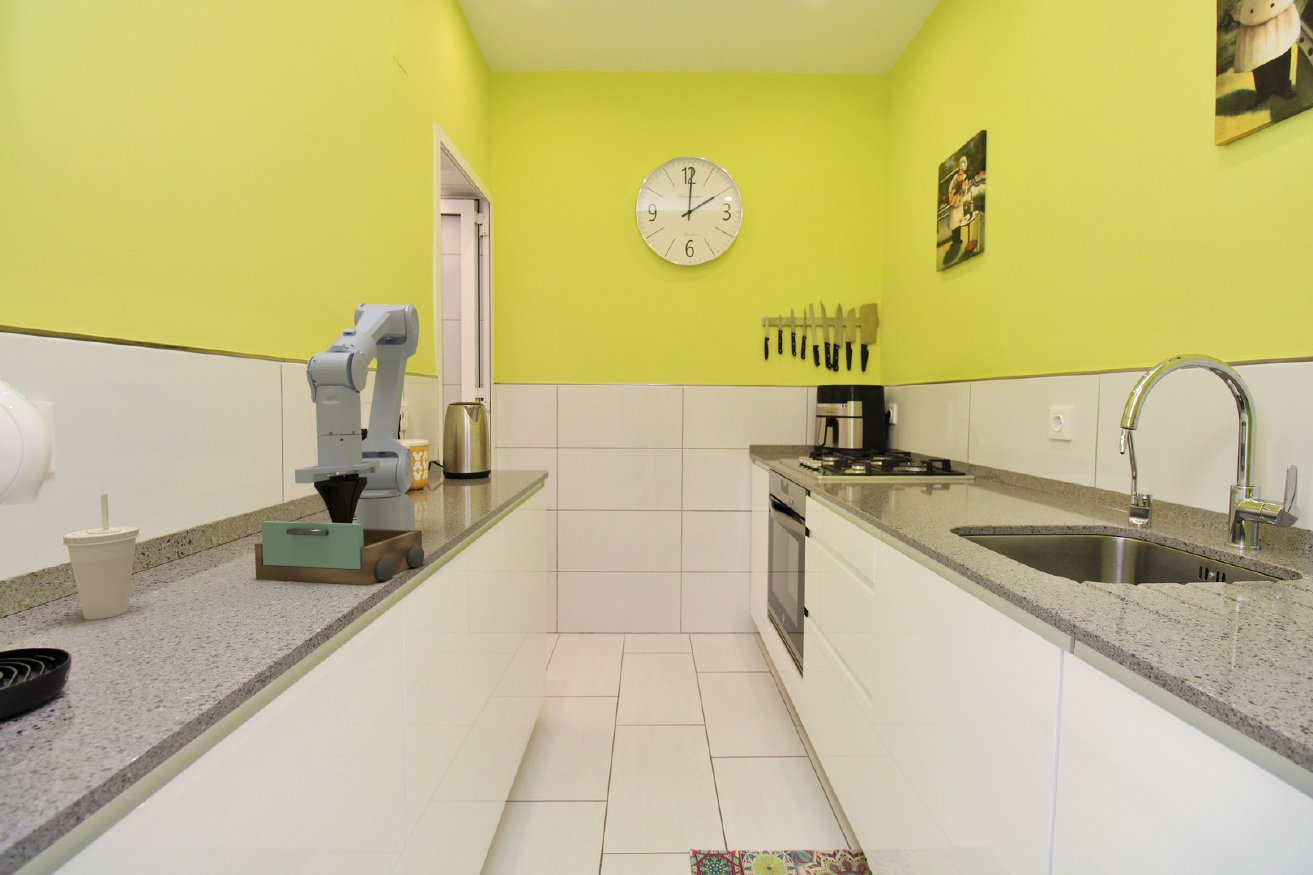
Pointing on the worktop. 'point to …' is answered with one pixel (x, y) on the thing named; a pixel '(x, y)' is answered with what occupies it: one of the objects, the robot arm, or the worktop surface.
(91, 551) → the smoothie
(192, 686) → the worktop surface
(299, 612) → the worktop surface
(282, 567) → the cart
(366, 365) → the robot arm
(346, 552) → the tailgate
